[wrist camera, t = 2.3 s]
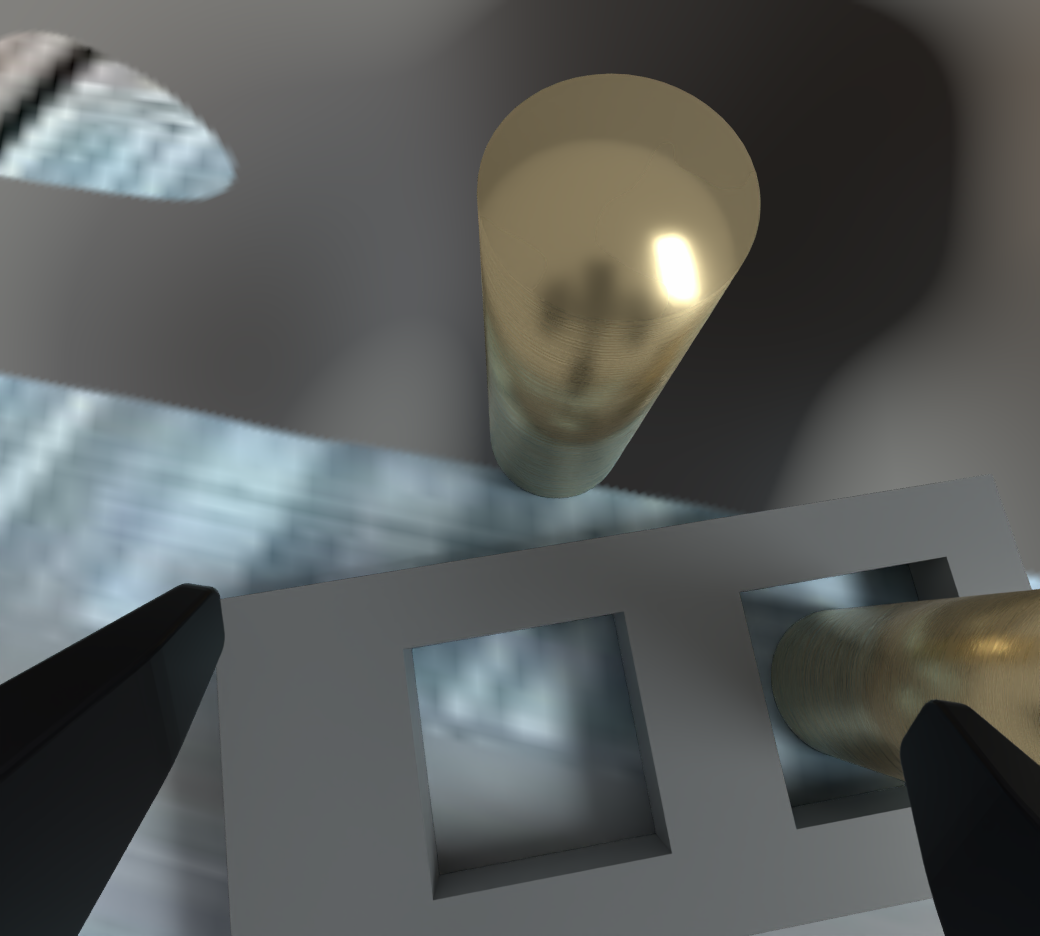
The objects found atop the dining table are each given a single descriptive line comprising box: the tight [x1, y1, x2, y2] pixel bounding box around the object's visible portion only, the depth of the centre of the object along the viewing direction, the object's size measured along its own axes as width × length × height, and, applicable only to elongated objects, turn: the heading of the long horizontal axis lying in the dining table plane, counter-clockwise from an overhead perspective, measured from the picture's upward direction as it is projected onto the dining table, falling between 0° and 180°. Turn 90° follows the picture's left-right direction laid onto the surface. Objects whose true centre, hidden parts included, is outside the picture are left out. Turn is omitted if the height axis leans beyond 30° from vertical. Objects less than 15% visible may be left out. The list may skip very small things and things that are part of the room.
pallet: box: [216, 474, 1032, 936], centre depth 20 cm, size 24×11×2 cm, turn 99°
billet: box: [771, 589, 1040, 781], centre depth 15 cm, size 4×4×13 cm
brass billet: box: [477, 74, 760, 498], centre depth 17 cm, size 4×4×13 cm
